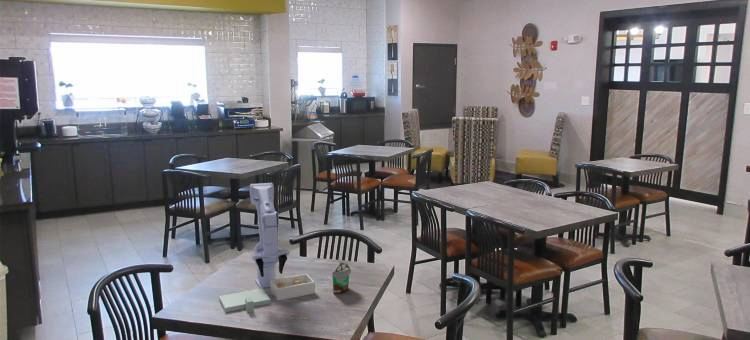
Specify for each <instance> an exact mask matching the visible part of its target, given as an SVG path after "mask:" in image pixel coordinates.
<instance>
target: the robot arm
mask: <svg viewBox="0 0 750 340" xmlns="http://www.w3.org/2000/svg"><path fill="white" fill-rule="evenodd" d="M274 194H275V189H274V183H273V182H265V183H264V182H263V183H250V185H249V195H250V198H249V199H250V203H251V204H252V205H254V206H255V208H256V211H257V222H258V231H259V232H258V234H259V242H258V243H257V244H256V245H255V246H254V248H253V249H254V253H253V254H252V255H251V256H252V258H251V259H252V261H253V262H254V263H255V265H257V266H256V271H257V272H256V275H257V277H256V279H255V283H256V284H257V285H258V286H259V289H261V288H263V289H265V288H270V280H273V279H277V275H276V272H277V271H276V266H277V263H278V272H279V274H283V270H284V266H285V264H286V263H287V261H288V256H290V250H289V249H279V240H278V236H279V235H278V227H279V225H280V219H279V214H278V212H277V211H276V209H275V207H274V206H275V205H274V203H273V200H274Z"/></svg>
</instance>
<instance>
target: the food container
mask: <svg viewBox="0 0 750 340" xmlns="http://www.w3.org/2000/svg"><path fill="white" fill-rule="evenodd" d="M351 273H352V269H351V266H350V265H349V264H348V263H345V262H339V265H338V267H336V269H335V271H332V273H331V274H332V288H333V289H332V290H333V291H332V292H333V294H334V295H341V294H344V293H347V292H348V291H349V284H350V282H349V281H350V274H351Z"/></svg>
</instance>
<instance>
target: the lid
mask: <svg viewBox="0 0 750 340" xmlns="http://www.w3.org/2000/svg"><path fill="white" fill-rule="evenodd" d="M218 300H219V302H220V304H221V306H222V308H223V310H224V312H225V313H228V312H234V311H238V310H239V311H240V310H244V309H246V312H247V313H251V312H252V313H253V312H254V310H255V309H254V308H255V307H260V306H265V305H270V304H271V298H270V297H269V295H268V294H267V292H266V291H265V289H264V288H257V289H251V290H245V291H241V292H235V293H229V294H224V295H219V298H218Z"/></svg>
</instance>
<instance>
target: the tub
mask: <svg viewBox="0 0 750 340" xmlns="http://www.w3.org/2000/svg"><path fill="white" fill-rule="evenodd" d="M269 288H270V291H269V292H270V294H272V296H273V297H274V298H275V300H276V301H283V300H288V299H294V298H298V297H303V296H308V295H313V294H316V282H315V281H314V280H313V278H312V277H310V276H309V274H308V273H302V274H297V275H290V276H285V277H280V278H276V279H273V280H270V287H269Z"/></svg>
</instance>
